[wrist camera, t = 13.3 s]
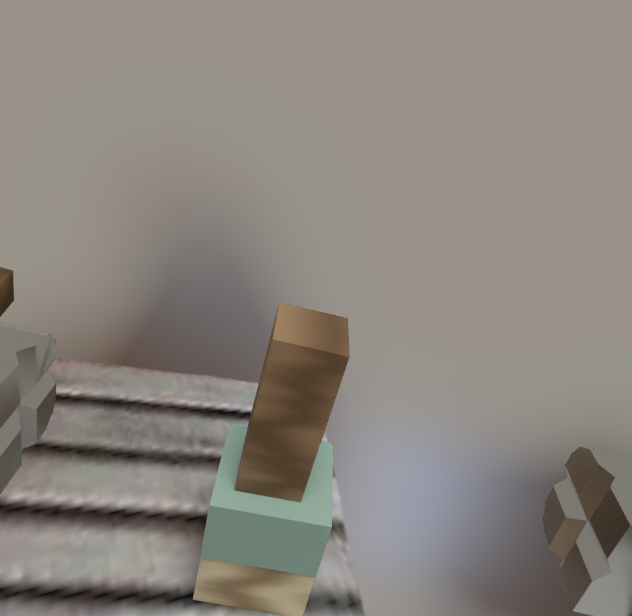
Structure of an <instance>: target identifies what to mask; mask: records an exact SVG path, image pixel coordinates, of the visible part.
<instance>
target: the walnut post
mask: <svg viewBox="0 0 632 616" xmlns="http://www.w3.org/2000/svg"><path fill="white" fill-rule="evenodd" d="M348 359H349V336H348V318H344V317H340V316H336V315H331V314H327V313H323V312H318V311H314V310H310V309H306V308H301V307H297V306H293V305H289V304H284V303H279V305H278V310H277V313H276V317H275V321H274V325H273V329H272V333H271V337H270V341H269V345H268V349H267V353H266V357H265V361H264V365H263V369H262V373H261V377H260V381H259V385H258V389H257V393H256V397H255V401H254V405H253V409H252V413H251V417H250V421H249V425H248V429H247V433H246V437H245V441H244V445H243V450H242V455H241V460H240V465H239V470H238V475H237V480H236V485H235V489H236V490H241V491H246V492H250V493H255V494H260V495H265V496H270V497H275V498H280V499H285V500H290V501H295V502H300V503H301V501H302V498H303V495H304V492H305V489H306V486H307V483H308V480H309V477H310V474H311V471H312V468H313V465H314V461H315V458H316V455H317V452H318V449H319V446H320V443H321V440H322V437H323V434H324V431H325V428H326V425H327V422H328V419H329V416H330V413H331V410H332V407H333V404H334V401H335V398H336V395H337V392H338V389H339V386H340V383H341V380H342V377H343V374H344V371H345V368H346V365H347V362H348Z"/></svg>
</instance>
